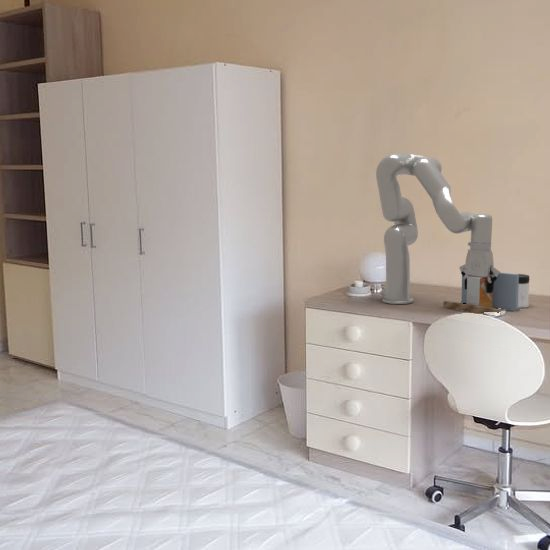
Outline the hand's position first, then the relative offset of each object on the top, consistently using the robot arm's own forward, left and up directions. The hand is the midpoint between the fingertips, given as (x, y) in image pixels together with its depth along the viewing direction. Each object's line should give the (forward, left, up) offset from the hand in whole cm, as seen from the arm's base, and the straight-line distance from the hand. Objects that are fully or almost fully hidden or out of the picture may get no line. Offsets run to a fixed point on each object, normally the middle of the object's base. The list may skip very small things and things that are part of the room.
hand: (478, 290), depth 275 cm
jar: (+8, +15, -7) cm, 19 cm away
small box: (+1, 0, -7) cm, 7 cm away
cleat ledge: (+1, -6, -7) cm, 9 cm away
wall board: (+1, +6, -7) cm, 10 cm away
